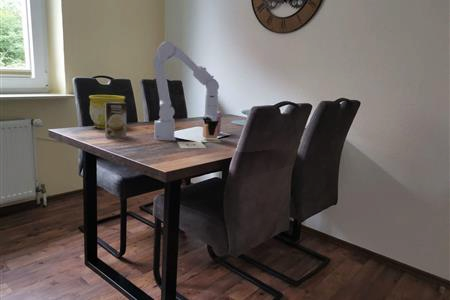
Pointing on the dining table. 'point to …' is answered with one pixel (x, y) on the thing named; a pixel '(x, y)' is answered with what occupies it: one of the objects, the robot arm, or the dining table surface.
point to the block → (206, 132)
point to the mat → (210, 140)
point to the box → (219, 121)
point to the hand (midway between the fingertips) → (209, 133)
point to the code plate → (191, 145)
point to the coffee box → (115, 119)
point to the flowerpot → (101, 107)
